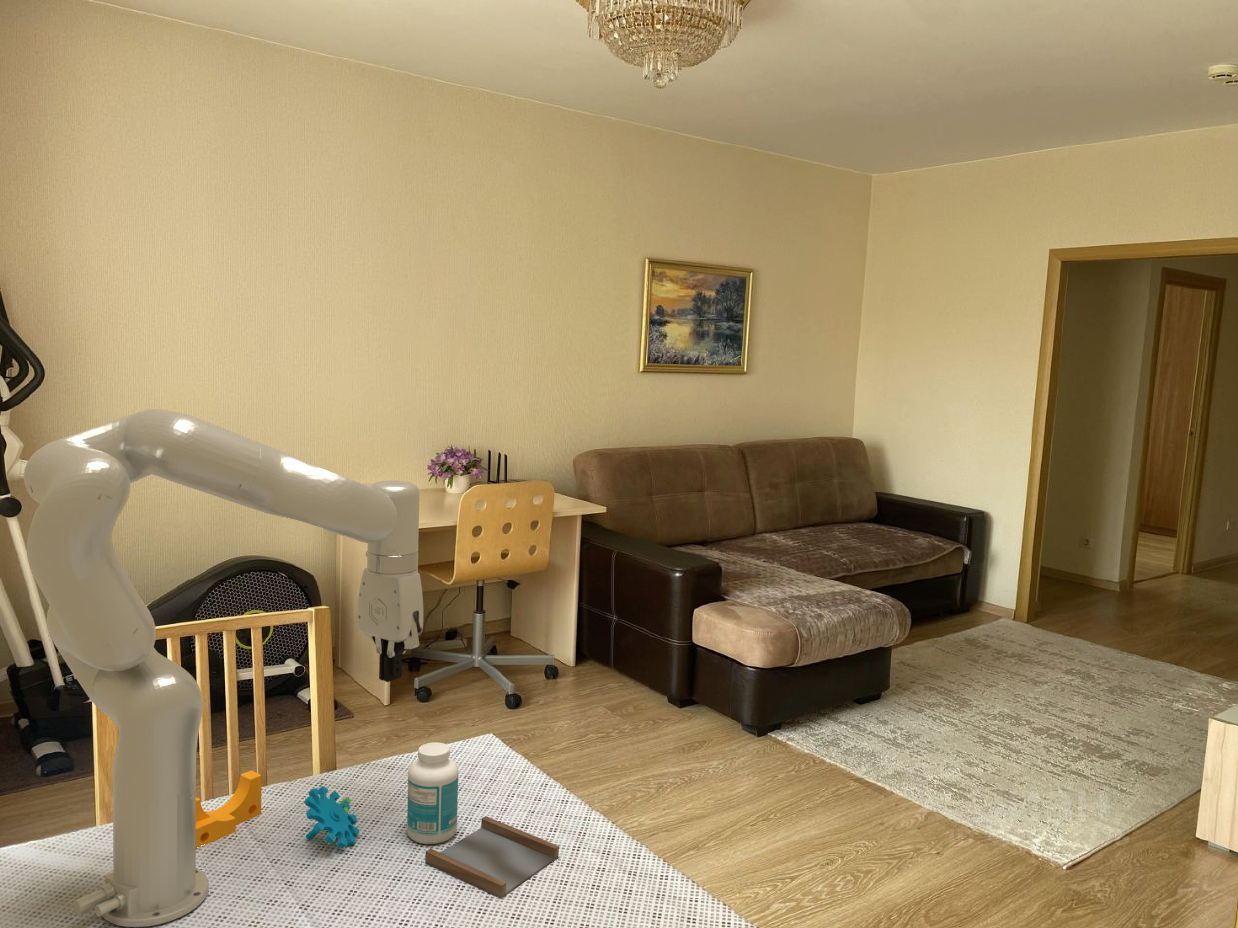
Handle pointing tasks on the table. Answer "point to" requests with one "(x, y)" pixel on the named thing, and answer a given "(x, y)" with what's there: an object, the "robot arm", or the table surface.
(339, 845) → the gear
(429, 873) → the table surface
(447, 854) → the cradle
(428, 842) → the pill bottle
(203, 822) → the pipe clamp
